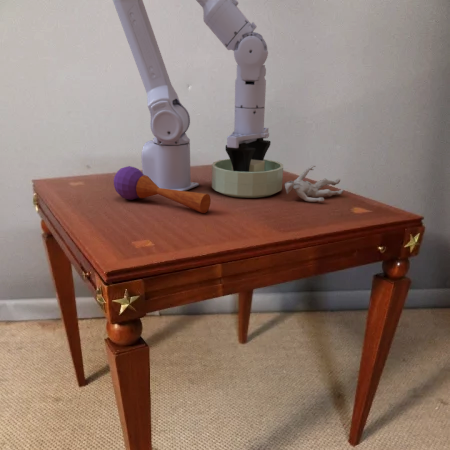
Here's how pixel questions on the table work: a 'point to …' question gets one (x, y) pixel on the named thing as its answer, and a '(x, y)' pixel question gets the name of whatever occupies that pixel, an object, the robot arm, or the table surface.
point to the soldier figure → (311, 188)
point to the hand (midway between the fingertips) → (247, 180)
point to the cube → (256, 166)
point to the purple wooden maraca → (155, 190)
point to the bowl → (247, 180)
